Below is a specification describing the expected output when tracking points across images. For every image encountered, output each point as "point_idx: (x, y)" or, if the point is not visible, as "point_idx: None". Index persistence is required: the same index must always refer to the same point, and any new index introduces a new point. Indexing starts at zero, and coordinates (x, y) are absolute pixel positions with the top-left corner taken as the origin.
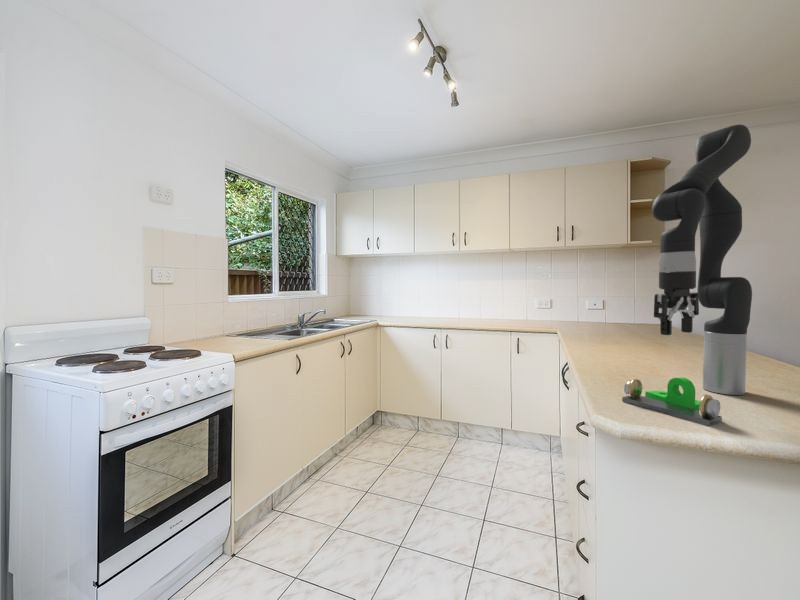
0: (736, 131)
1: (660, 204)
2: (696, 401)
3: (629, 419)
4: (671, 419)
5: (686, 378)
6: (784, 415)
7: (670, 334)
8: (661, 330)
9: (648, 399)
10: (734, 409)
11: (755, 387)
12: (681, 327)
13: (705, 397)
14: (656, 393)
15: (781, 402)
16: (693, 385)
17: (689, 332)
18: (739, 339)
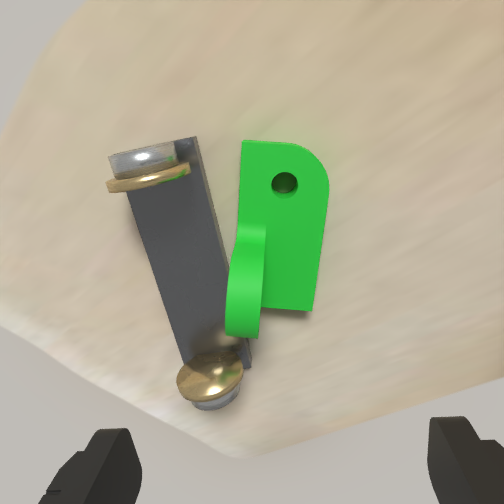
0: None
1: None
2: (301, 285)
3: (28, 285)
4: (141, 314)
5: (257, 326)
6: (469, 374)
7: (133, 481)
8: (62, 477)
9: (186, 205)
10: (403, 311)
11: None
12: (454, 450)
13: (189, 400)
14: (259, 178)
15: None
16: (256, 338)
17: (429, 465)
18: None
